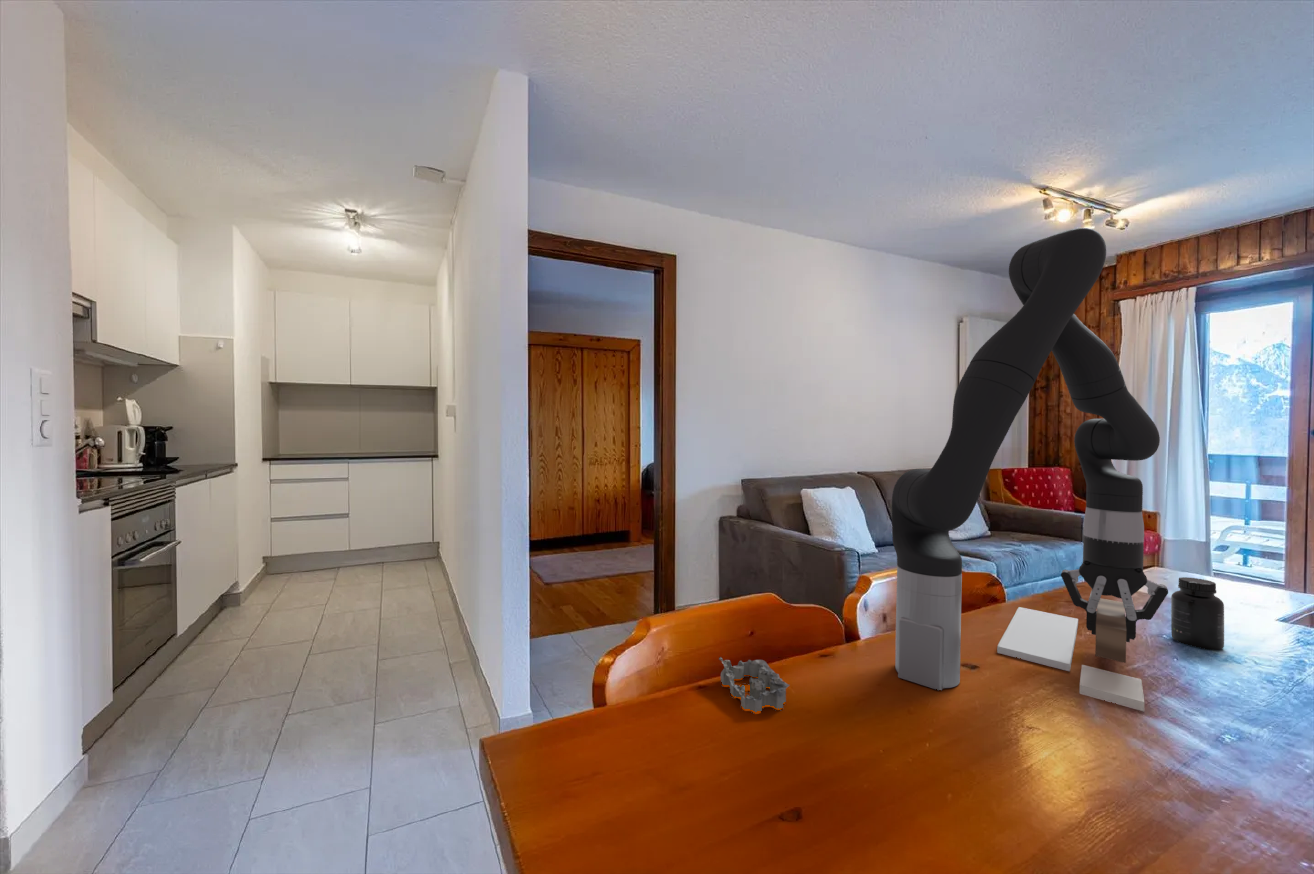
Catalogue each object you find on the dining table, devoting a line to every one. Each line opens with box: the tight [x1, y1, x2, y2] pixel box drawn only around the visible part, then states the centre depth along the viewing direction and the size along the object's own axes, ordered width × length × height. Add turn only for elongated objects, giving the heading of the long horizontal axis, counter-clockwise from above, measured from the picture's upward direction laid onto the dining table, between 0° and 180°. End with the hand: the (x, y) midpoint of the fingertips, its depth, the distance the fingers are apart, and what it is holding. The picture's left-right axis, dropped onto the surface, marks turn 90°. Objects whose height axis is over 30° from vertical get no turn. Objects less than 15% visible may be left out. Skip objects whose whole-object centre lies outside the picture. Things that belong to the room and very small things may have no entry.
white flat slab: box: [1079, 664, 1145, 712], centre depth 76 cm, size 2×7×9 cm
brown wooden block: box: [1094, 598, 1127, 664], centre depth 84 cm, size 18×4×5 cm, turn 137°
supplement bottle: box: [1170, 576, 1225, 651], centre depth 94 cm, size 7×7×12 cm
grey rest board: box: [996, 606, 1079, 672], centre depth 95 cm, size 28×10×1 cm, turn 137°
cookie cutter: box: [718, 656, 790, 712], centre depth 74 cm, size 11×8×4 cm
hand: (1110, 636), depth 84 cm, fingers closed on brown wooden block, 3 cm apart
